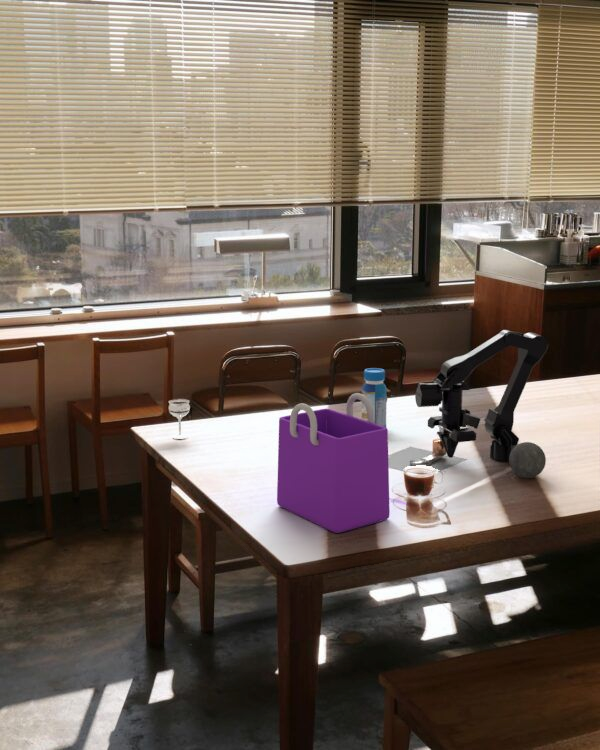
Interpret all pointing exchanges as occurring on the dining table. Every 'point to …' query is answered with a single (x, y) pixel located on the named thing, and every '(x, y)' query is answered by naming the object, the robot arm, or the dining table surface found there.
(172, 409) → the wineglass
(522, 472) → the decorative ball
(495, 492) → the dining table surface
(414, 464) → the crank
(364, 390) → the beverage bottle
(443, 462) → the mount plate
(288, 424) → the shopping bag
